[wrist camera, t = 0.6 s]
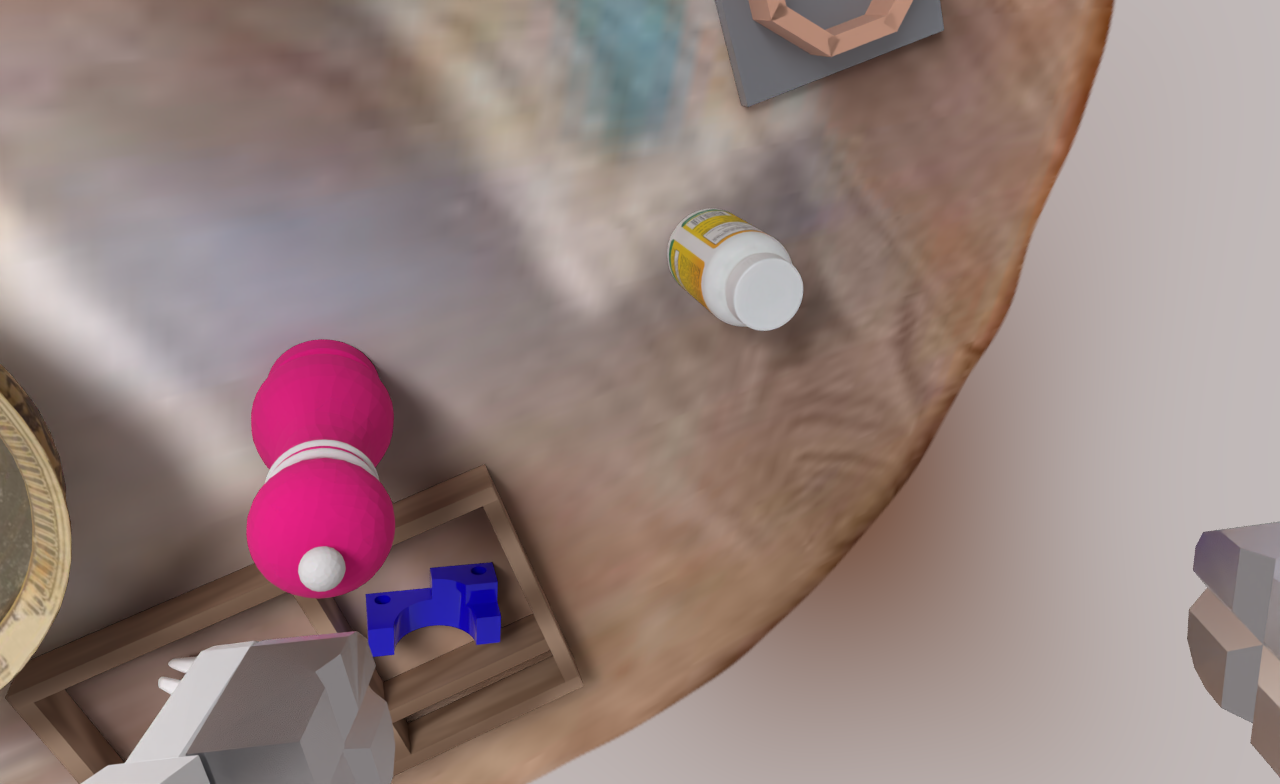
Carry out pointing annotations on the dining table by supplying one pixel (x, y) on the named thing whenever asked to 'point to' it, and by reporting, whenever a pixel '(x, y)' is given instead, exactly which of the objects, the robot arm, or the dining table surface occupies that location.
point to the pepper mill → (321, 471)
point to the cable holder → (437, 607)
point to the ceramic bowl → (29, 529)
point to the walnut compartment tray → (415, 742)
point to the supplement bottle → (734, 270)
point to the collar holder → (814, 38)
